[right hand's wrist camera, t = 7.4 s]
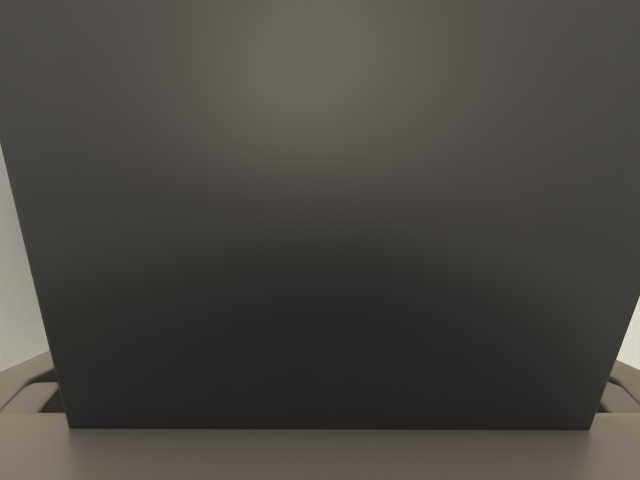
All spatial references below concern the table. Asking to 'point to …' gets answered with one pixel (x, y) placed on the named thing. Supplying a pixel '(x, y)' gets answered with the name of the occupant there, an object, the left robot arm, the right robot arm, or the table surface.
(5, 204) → the table surface
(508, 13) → the box
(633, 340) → the table surface
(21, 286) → the table surface
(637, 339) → the table surface
